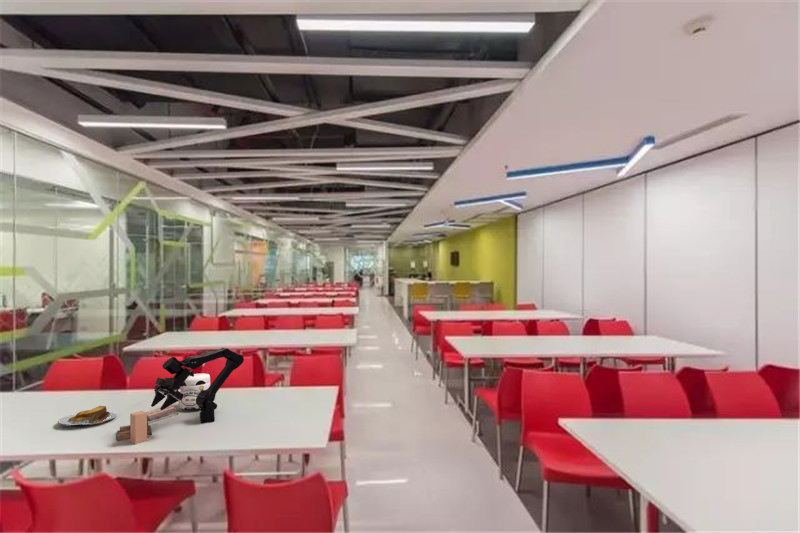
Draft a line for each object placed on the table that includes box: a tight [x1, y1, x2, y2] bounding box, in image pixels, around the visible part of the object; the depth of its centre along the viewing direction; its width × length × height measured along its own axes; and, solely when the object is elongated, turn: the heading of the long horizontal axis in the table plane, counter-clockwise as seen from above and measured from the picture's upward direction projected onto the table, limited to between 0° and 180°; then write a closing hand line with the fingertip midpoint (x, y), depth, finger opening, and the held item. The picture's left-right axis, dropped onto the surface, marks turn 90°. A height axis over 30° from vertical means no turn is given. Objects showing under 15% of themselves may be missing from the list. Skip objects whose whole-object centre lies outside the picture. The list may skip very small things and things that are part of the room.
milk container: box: [178, 372, 211, 411], centre depth 254 cm, size 17×17×18 cm
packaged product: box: [146, 405, 180, 425], centre depth 237 cm, size 18×5×10 cm
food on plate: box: [57, 405, 118, 427], centre depth 233 cm, size 26×25×7 cm
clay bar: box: [129, 410, 148, 445], centre depth 204 cm, size 5×5×13 cm
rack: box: [116, 422, 153, 442], centre depth 214 cm, size 14×13×3 cm
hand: (156, 408), depth 211 cm, fingers open, 9 cm apart
